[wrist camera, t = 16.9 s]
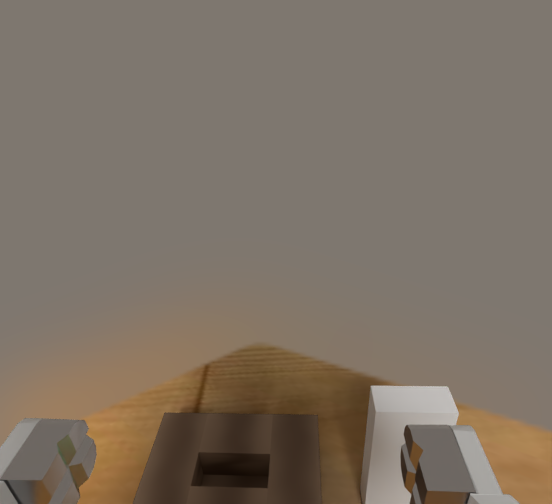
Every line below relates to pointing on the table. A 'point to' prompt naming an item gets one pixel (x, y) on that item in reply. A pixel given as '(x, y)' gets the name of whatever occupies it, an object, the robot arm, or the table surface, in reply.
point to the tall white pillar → (397, 435)
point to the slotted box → (233, 460)
